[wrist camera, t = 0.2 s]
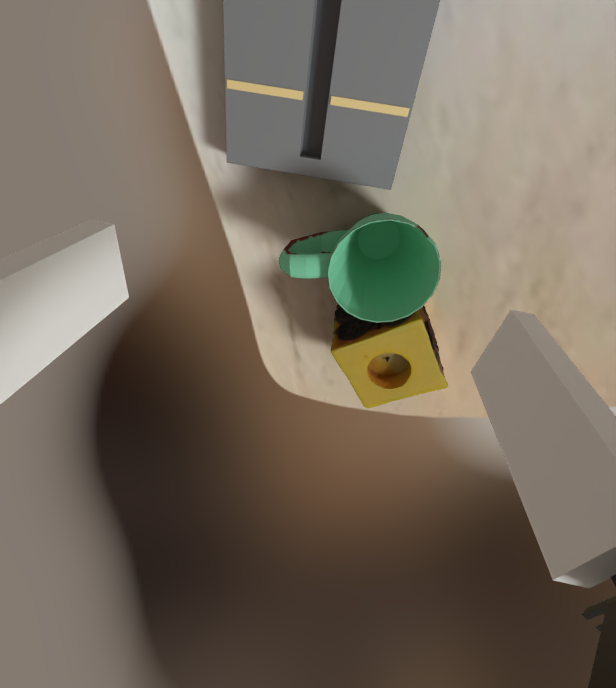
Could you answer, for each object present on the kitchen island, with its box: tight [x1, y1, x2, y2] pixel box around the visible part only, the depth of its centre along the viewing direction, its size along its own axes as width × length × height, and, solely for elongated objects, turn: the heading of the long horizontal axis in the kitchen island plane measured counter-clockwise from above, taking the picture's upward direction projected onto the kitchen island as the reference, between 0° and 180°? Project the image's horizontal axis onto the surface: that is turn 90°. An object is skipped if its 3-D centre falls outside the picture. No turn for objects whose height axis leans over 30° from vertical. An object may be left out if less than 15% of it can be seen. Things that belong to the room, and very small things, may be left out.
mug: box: [279, 213, 441, 323], centre depth 33 cm, size 15×10×10 cm
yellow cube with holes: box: [331, 305, 448, 408], centre depth 39 cm, size 10×10×10 cm
